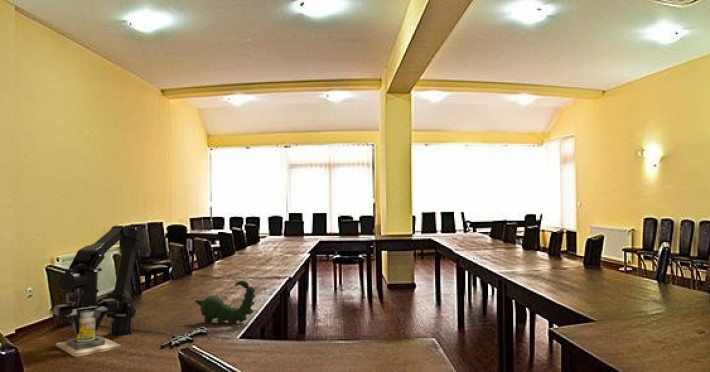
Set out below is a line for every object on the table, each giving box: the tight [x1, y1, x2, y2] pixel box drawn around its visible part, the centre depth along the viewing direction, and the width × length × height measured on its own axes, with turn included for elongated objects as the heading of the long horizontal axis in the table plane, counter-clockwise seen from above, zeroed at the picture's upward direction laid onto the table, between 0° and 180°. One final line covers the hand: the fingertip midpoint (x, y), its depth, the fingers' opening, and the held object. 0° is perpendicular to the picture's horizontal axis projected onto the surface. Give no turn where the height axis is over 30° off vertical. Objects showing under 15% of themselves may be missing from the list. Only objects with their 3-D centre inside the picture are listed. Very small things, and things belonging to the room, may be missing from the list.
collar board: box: [55, 335, 122, 358], centre depth 164 cm, size 14×18×2 cm
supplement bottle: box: [76, 310, 96, 342], centre depth 164 cm, size 5×5×10 cm
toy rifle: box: [160, 326, 209, 350], centre depth 177 cm, size 28×2×10 cm
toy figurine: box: [194, 280, 256, 326], centre depth 203 cm, size 9×19×25 cm
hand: (86, 332), depth 164 cm, fingers closed on supplement bottle, 5 cm apart
